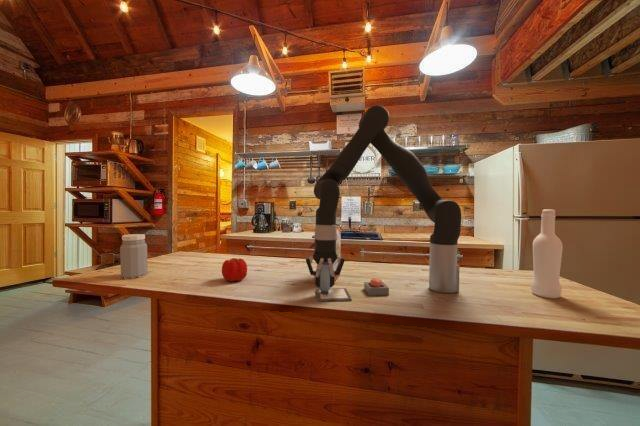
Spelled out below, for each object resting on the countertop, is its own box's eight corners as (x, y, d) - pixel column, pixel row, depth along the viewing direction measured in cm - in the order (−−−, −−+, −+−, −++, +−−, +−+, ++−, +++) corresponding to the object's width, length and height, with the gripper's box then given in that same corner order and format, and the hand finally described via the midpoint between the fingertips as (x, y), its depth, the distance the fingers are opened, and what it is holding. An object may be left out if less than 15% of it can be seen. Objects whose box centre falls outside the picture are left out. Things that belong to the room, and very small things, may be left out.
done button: (379, 285, 96) (379, 278, 96) (383, 288, 92) (383, 281, 92) (369, 285, 95) (369, 278, 95) (372, 289, 91) (372, 282, 91)
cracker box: (333, 284, 102) (333, 231, 101) (319, 283, 104) (319, 231, 103) (341, 275, 115) (341, 228, 114) (328, 274, 117) (328, 227, 116)
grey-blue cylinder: (329, 290, 92) (330, 259, 92) (331, 295, 88) (331, 262, 88) (318, 291, 92) (318, 259, 92) (318, 295, 88) (319, 262, 87)
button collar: (382, 288, 97) (382, 281, 97) (388, 295, 90) (388, 288, 90) (364, 288, 97) (364, 282, 97) (369, 295, 90) (369, 288, 90)
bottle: (532, 289, 97) (534, 209, 95) (561, 295, 91) (565, 209, 90) (529, 294, 91) (531, 209, 90) (560, 301, 85) (563, 209, 84)
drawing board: (345, 289, 96) (345, 287, 96) (351, 300, 85) (351, 298, 85) (316, 290, 95) (316, 288, 95) (318, 301, 84) (318, 299, 84)
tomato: (228, 276, 113) (228, 256, 113) (252, 277, 112) (252, 257, 112) (215, 283, 103) (215, 261, 103) (241, 284, 102) (241, 262, 101)
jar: (114, 278, 109) (113, 236, 108) (134, 272, 119) (133, 233, 118) (134, 279, 108) (133, 236, 107) (153, 273, 117) (152, 234, 117)
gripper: (344, 236, 94) (343, 283, 94) (304, 236, 93) (304, 283, 93) (347, 239, 86) (346, 290, 87) (305, 239, 85) (304, 290, 86)
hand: (324, 286), depth 90 cm, fingers closed on grey-blue cylinder, 4 cm apart
